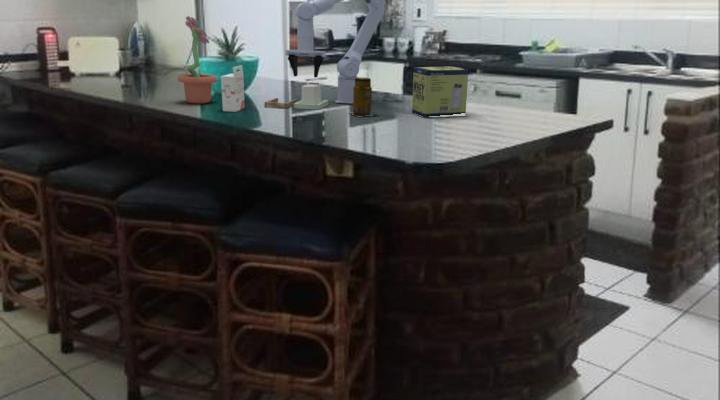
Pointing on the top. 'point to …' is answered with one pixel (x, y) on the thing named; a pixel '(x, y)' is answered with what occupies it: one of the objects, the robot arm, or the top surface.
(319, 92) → the light grey square block
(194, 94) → the decorative flower
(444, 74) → the protein box
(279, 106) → the caddy bay
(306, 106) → the tray
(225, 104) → the ink cartridge box
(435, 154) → the top surface
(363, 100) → the condiment
